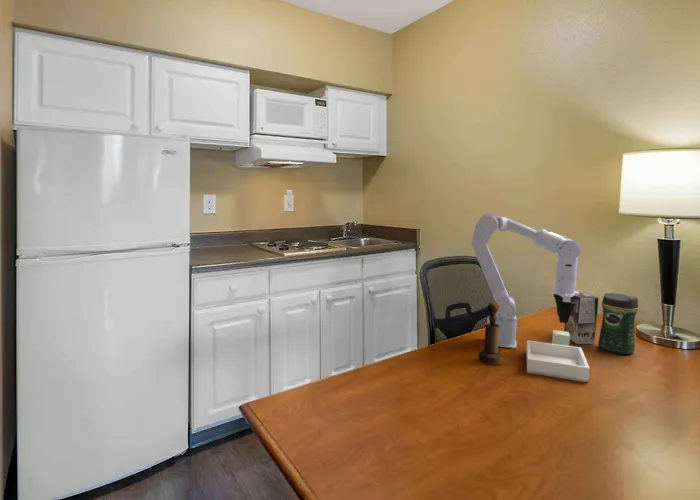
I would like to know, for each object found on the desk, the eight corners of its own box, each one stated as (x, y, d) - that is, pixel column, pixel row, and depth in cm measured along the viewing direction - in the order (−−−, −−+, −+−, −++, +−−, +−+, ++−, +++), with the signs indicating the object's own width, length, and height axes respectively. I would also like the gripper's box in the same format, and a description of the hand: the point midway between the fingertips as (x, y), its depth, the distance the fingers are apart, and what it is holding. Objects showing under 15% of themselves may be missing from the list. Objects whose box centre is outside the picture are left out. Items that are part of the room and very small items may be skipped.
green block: (552, 352, 132) (553, 334, 131) (551, 347, 136) (553, 330, 135) (568, 354, 130) (569, 336, 129) (566, 349, 134) (568, 331, 133)
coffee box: (595, 344, 139) (599, 298, 137) (576, 344, 139) (580, 297, 137) (580, 336, 148) (584, 292, 146) (562, 335, 148) (566, 291, 147)
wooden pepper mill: (498, 357, 126) (502, 299, 124) (504, 366, 119) (508, 305, 117) (476, 356, 126) (480, 299, 124) (481, 364, 120) (484, 304, 118)
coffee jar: (638, 352, 132) (644, 296, 130) (625, 357, 128) (631, 298, 126) (606, 343, 141) (611, 290, 139) (593, 347, 137) (598, 292, 134)
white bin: (526, 372, 115) (527, 358, 114) (526, 352, 131) (527, 340, 130) (588, 382, 109) (589, 368, 109) (580, 360, 125) (581, 347, 124)
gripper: (583, 282, 122) (579, 327, 123) (577, 275, 135) (573, 315, 137) (556, 280, 124) (553, 324, 126) (553, 273, 138) (550, 312, 139)
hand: (562, 319), depth 131 cm, fingers open, 7 cm apart
